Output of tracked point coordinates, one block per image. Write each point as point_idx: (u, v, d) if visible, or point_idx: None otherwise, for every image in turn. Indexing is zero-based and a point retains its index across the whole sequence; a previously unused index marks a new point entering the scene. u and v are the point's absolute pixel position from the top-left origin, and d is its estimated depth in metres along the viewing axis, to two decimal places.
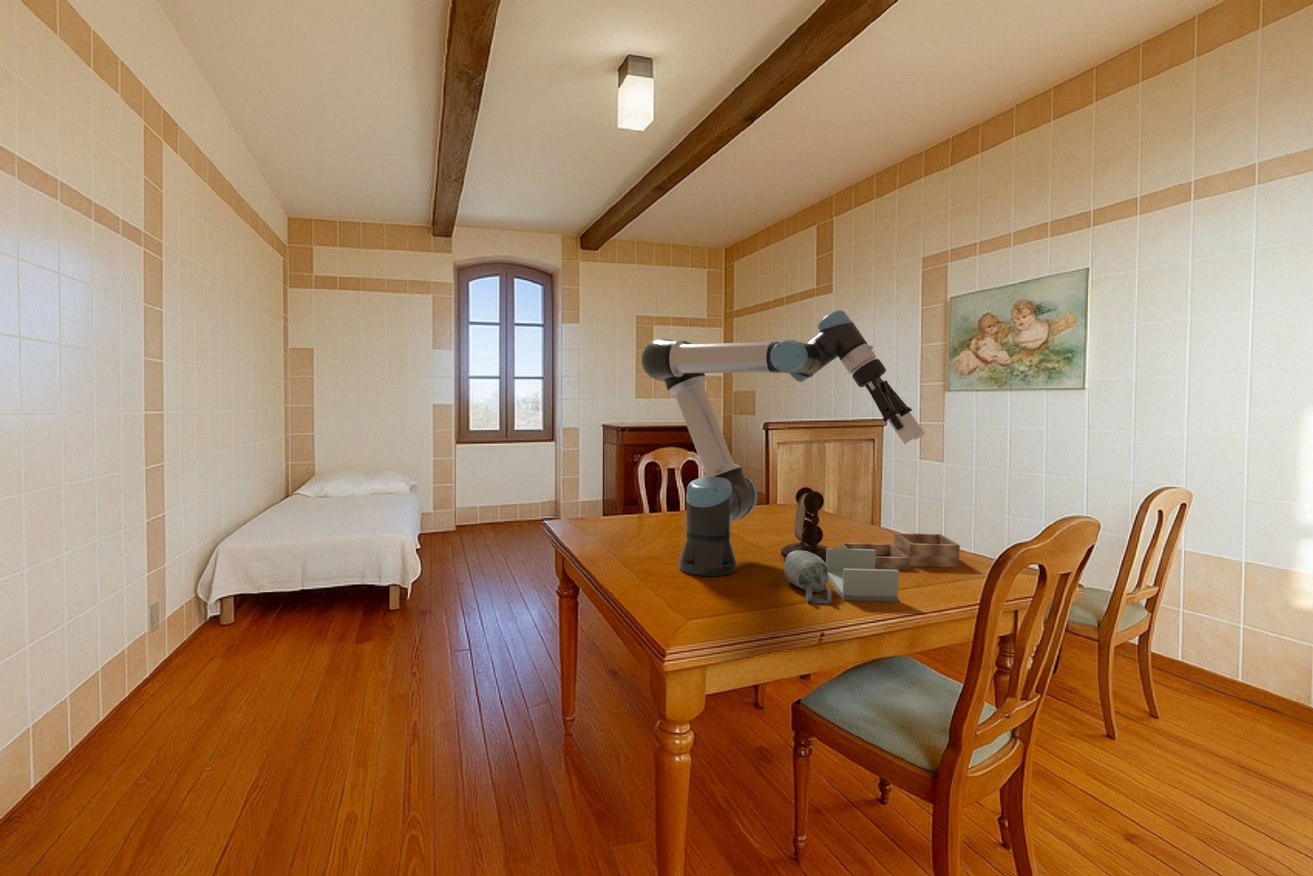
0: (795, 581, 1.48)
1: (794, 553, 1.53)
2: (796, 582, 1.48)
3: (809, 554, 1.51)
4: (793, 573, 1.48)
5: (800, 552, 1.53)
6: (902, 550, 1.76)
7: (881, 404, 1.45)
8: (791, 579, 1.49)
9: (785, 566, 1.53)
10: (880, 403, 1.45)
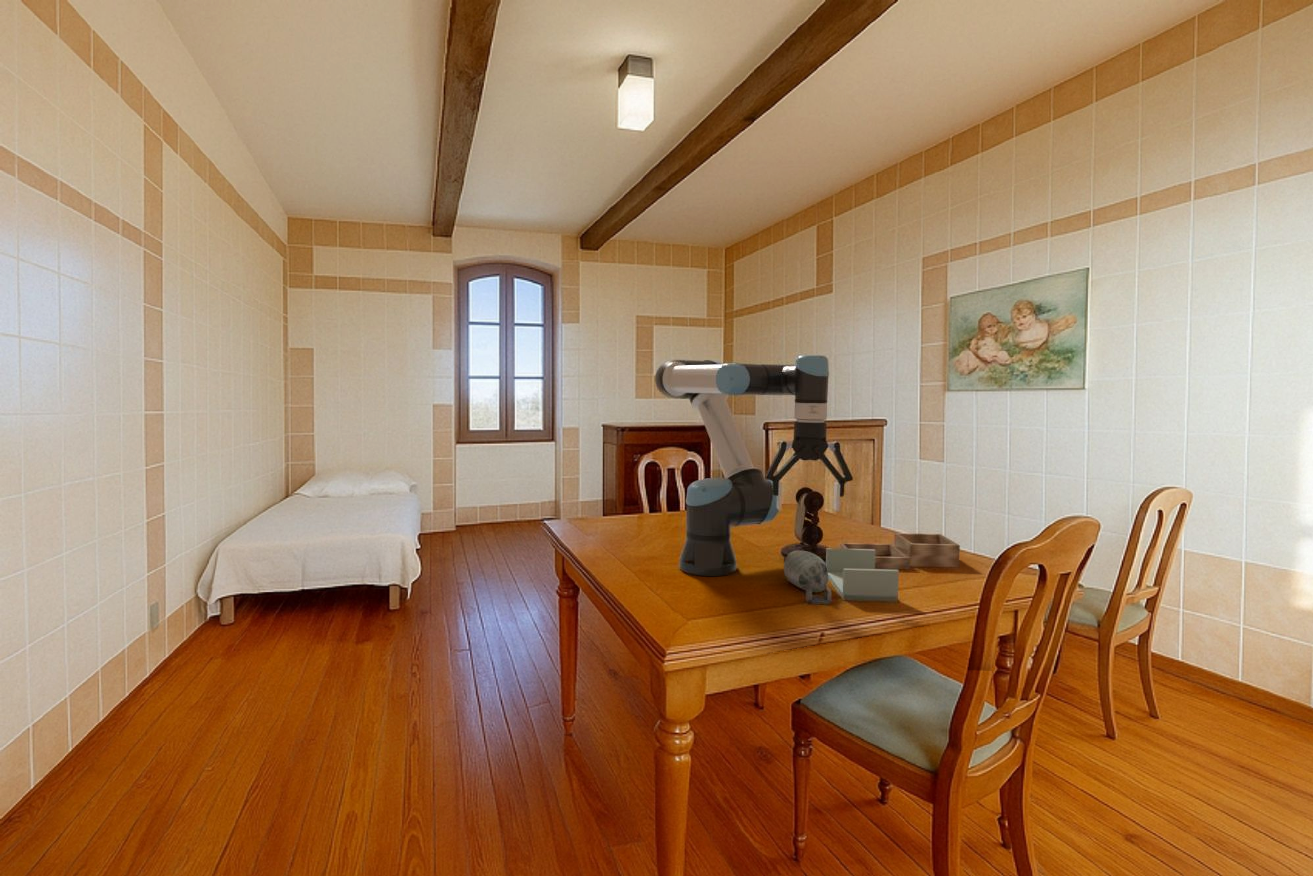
0: (795, 581, 1.48)
1: (794, 553, 1.53)
2: (796, 582, 1.48)
3: (809, 554, 1.51)
4: (793, 573, 1.48)
5: (800, 552, 1.53)
6: (902, 550, 1.76)
7: (770, 466, 1.50)
8: (791, 579, 1.49)
9: (785, 566, 1.53)
10: (771, 465, 1.50)
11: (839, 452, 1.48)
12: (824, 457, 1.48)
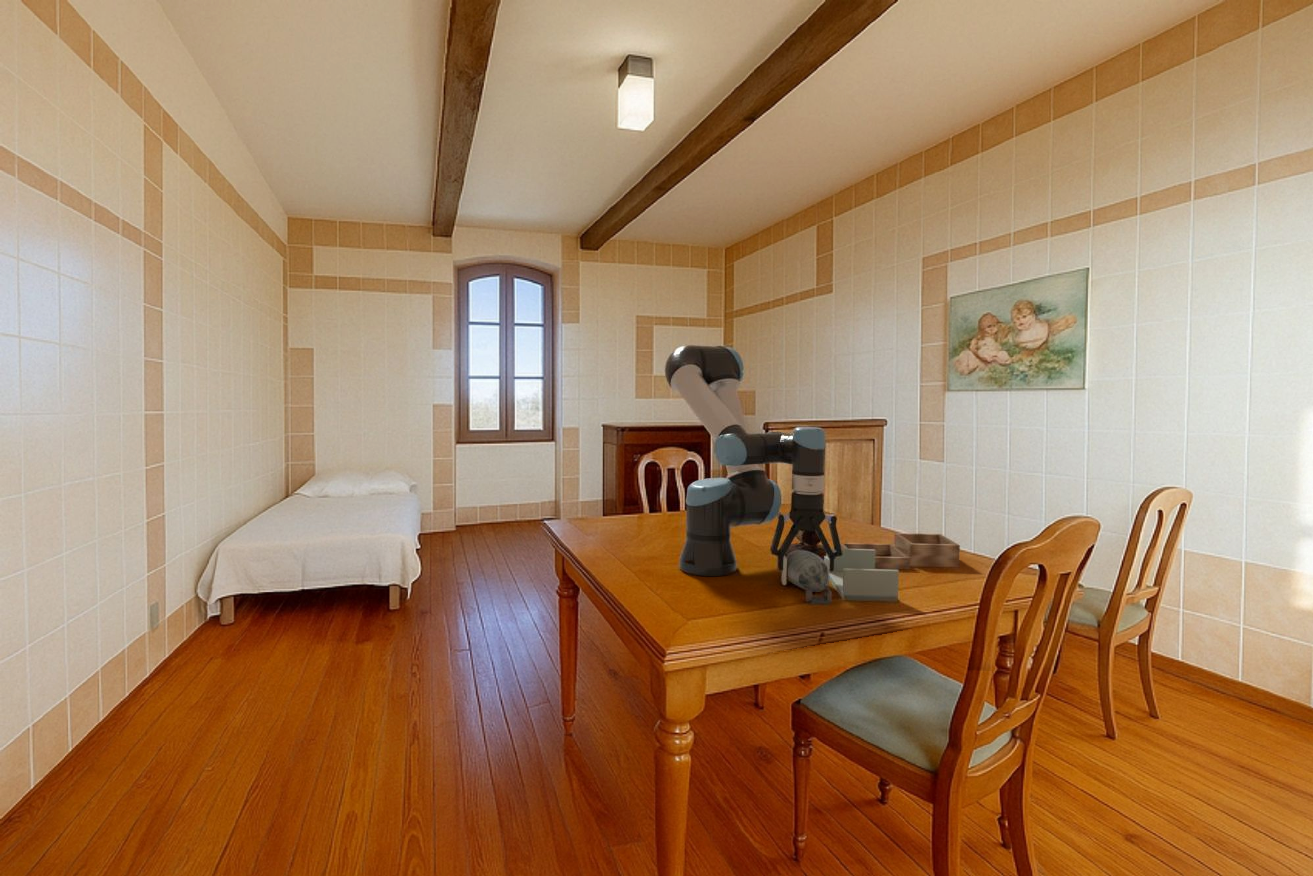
0: (795, 581, 1.48)
1: (794, 553, 1.53)
2: (796, 582, 1.48)
3: (809, 554, 1.51)
4: (793, 572, 1.48)
5: (800, 552, 1.53)
6: (902, 550, 1.76)
7: (773, 540, 1.52)
8: (791, 579, 1.49)
9: None
10: (773, 539, 1.52)
11: (834, 526, 1.49)
12: (819, 529, 1.49)
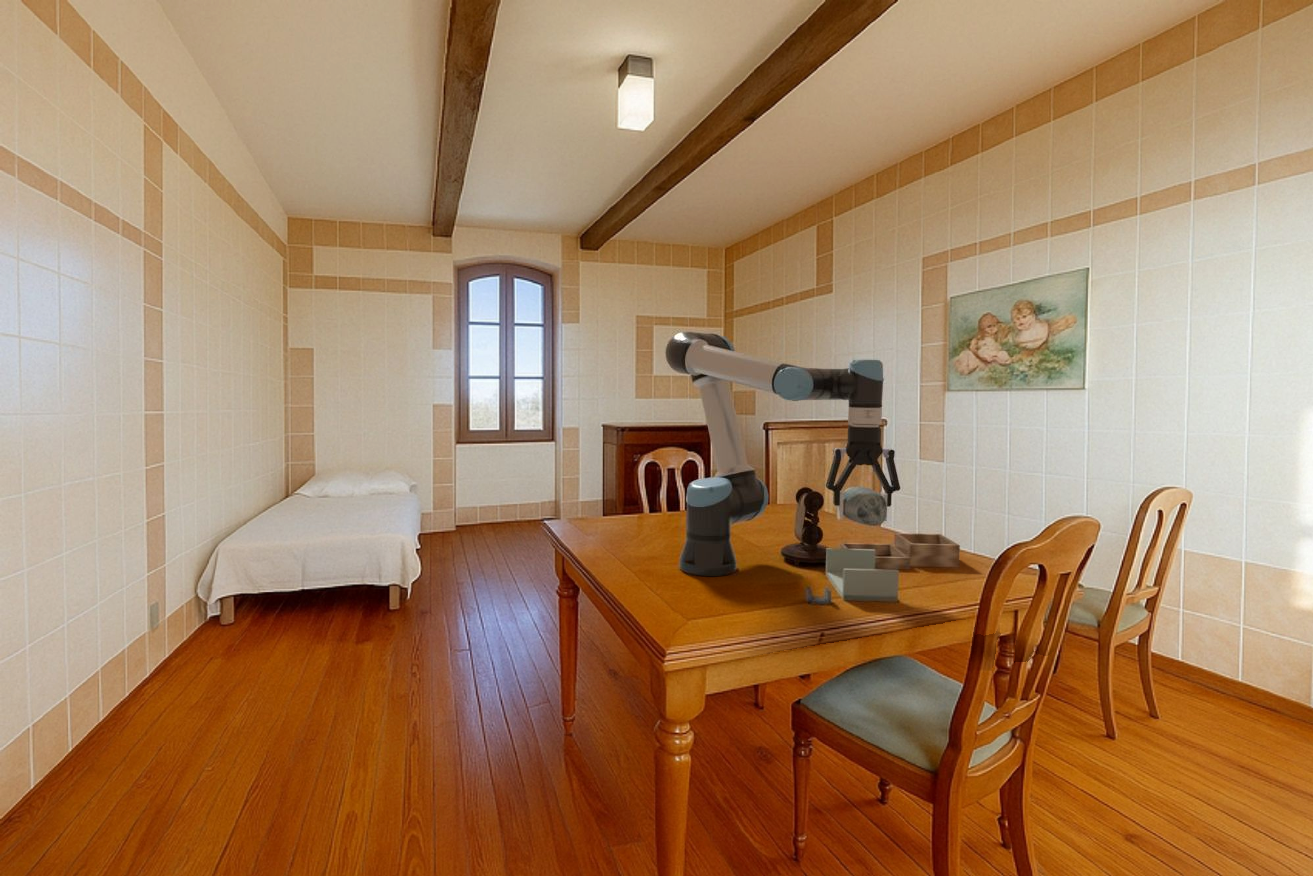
0: (853, 515, 1.46)
1: (850, 489, 1.51)
2: (854, 516, 1.46)
3: (866, 488, 1.48)
4: (851, 506, 1.46)
5: (857, 487, 1.50)
6: (902, 550, 1.76)
7: (829, 476, 1.50)
8: (849, 513, 1.47)
9: None
10: (829, 474, 1.50)
11: (892, 460, 1.47)
12: (877, 463, 1.47)
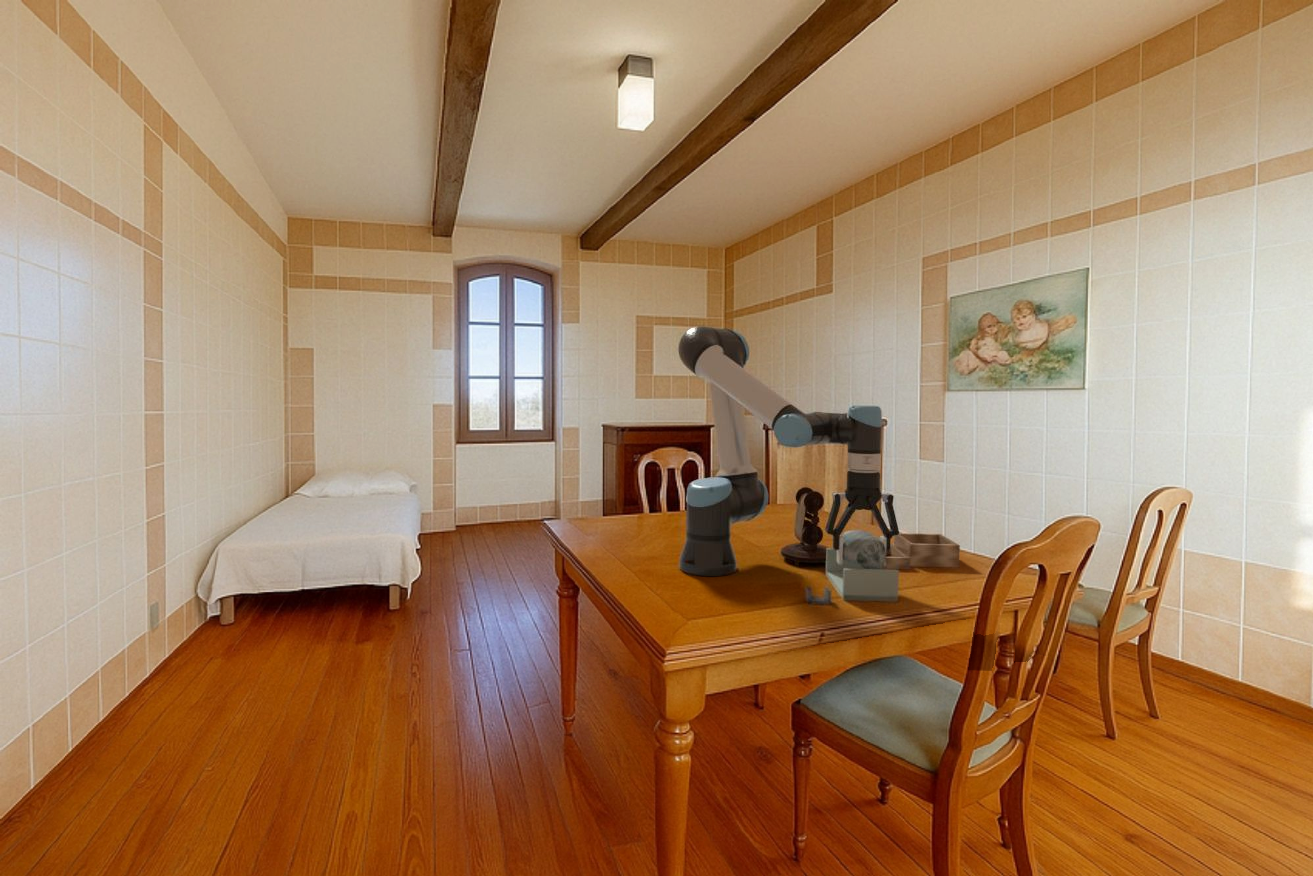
0: (853, 560, 1.47)
1: (850, 532, 1.52)
2: (854, 561, 1.46)
3: (866, 533, 1.49)
4: (851, 551, 1.47)
5: (856, 531, 1.51)
6: (902, 550, 1.76)
7: (828, 520, 1.51)
8: (848, 558, 1.48)
9: None
10: (829, 518, 1.51)
11: (891, 505, 1.48)
12: (876, 508, 1.48)
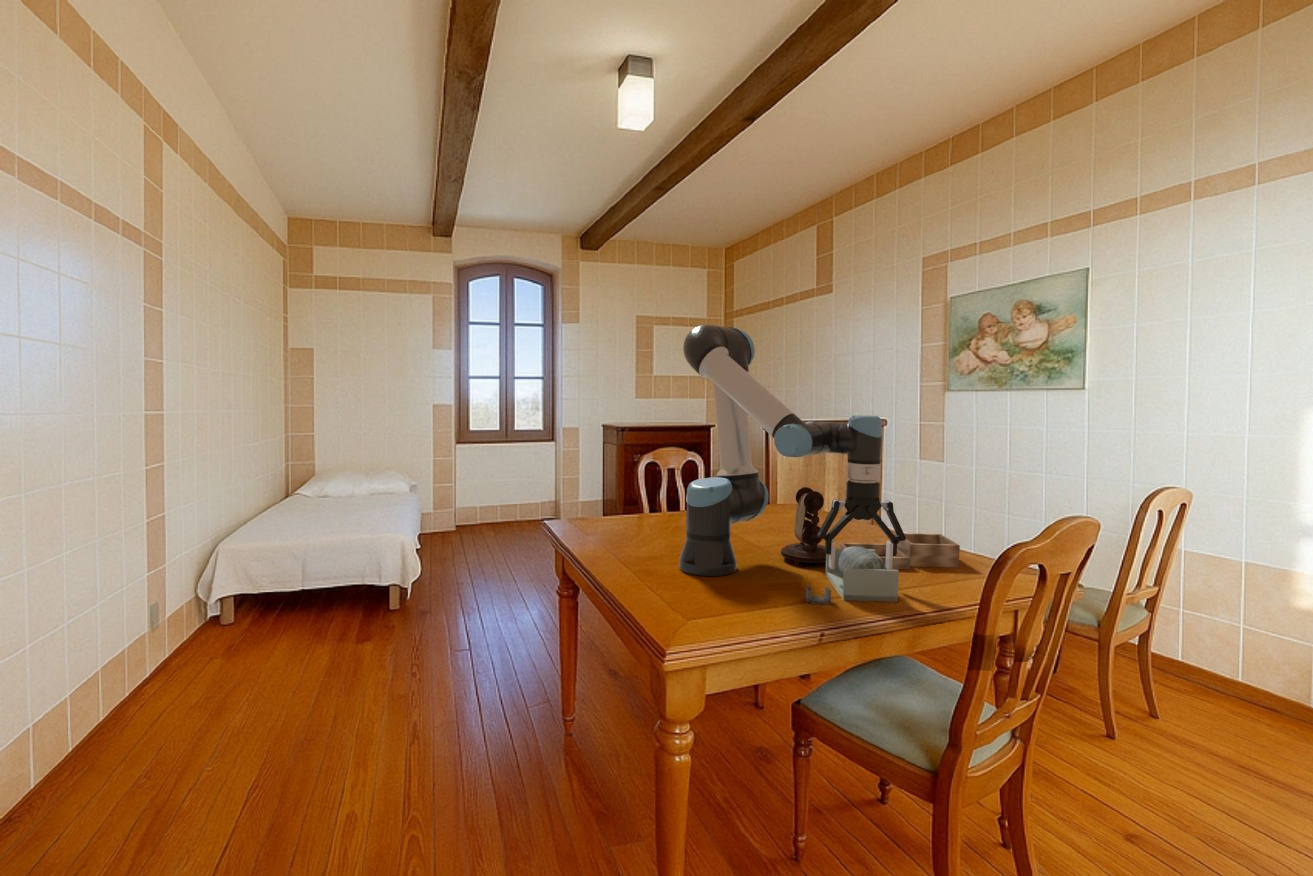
0: None
1: (849, 549, 1.53)
2: None
3: (865, 550, 1.50)
4: (850, 568, 1.48)
5: (856, 548, 1.52)
6: (902, 550, 1.76)
7: (823, 525, 1.51)
8: None
9: (840, 562, 1.52)
10: (824, 523, 1.51)
11: (892, 512, 1.48)
12: (877, 517, 1.48)
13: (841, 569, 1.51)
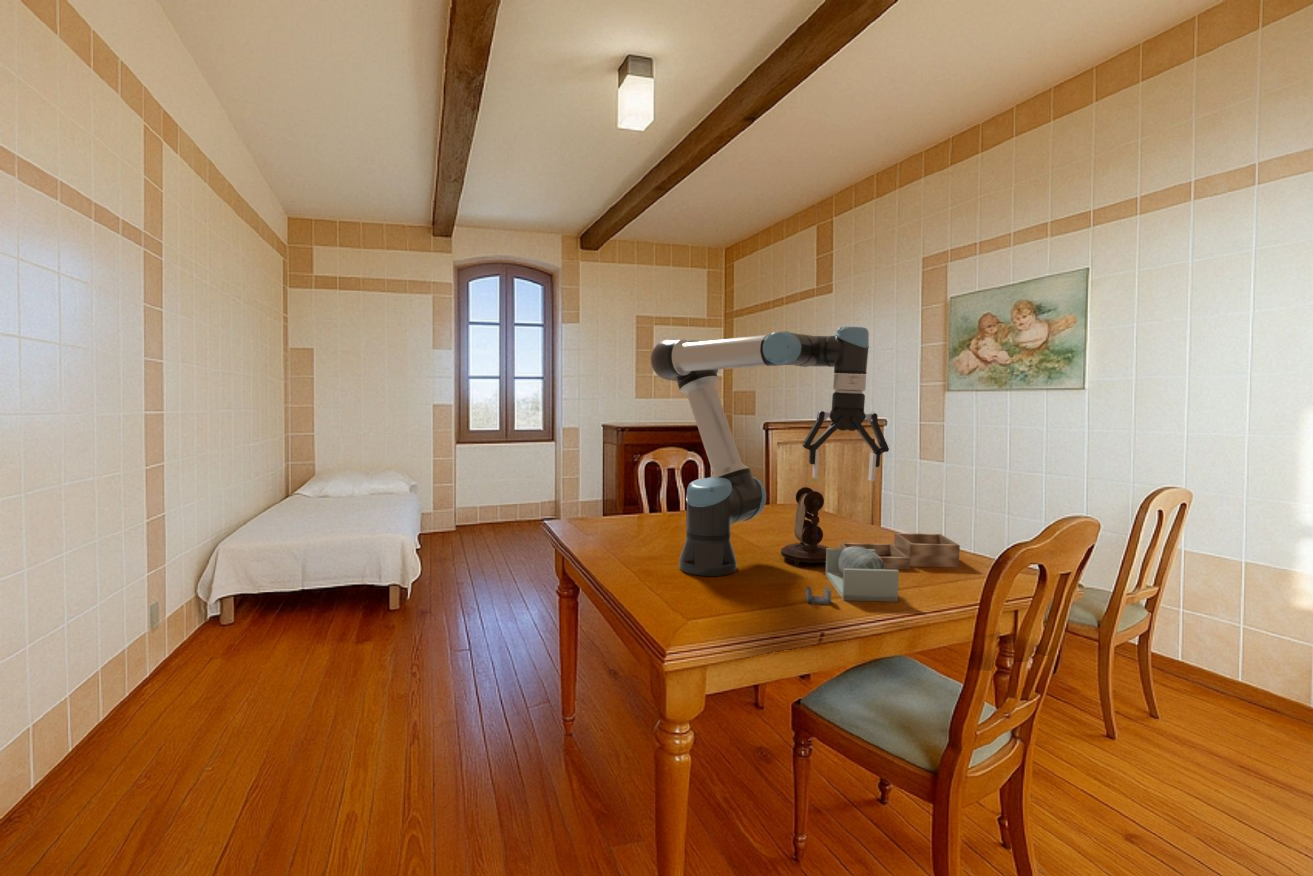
0: None
1: (849, 549, 1.53)
2: None
3: (865, 550, 1.50)
4: (850, 568, 1.48)
5: (856, 548, 1.52)
6: (902, 550, 1.76)
7: (808, 435, 1.54)
8: None
9: (840, 562, 1.52)
10: (808, 434, 1.54)
11: (876, 423, 1.51)
12: (861, 427, 1.51)
13: (841, 569, 1.51)
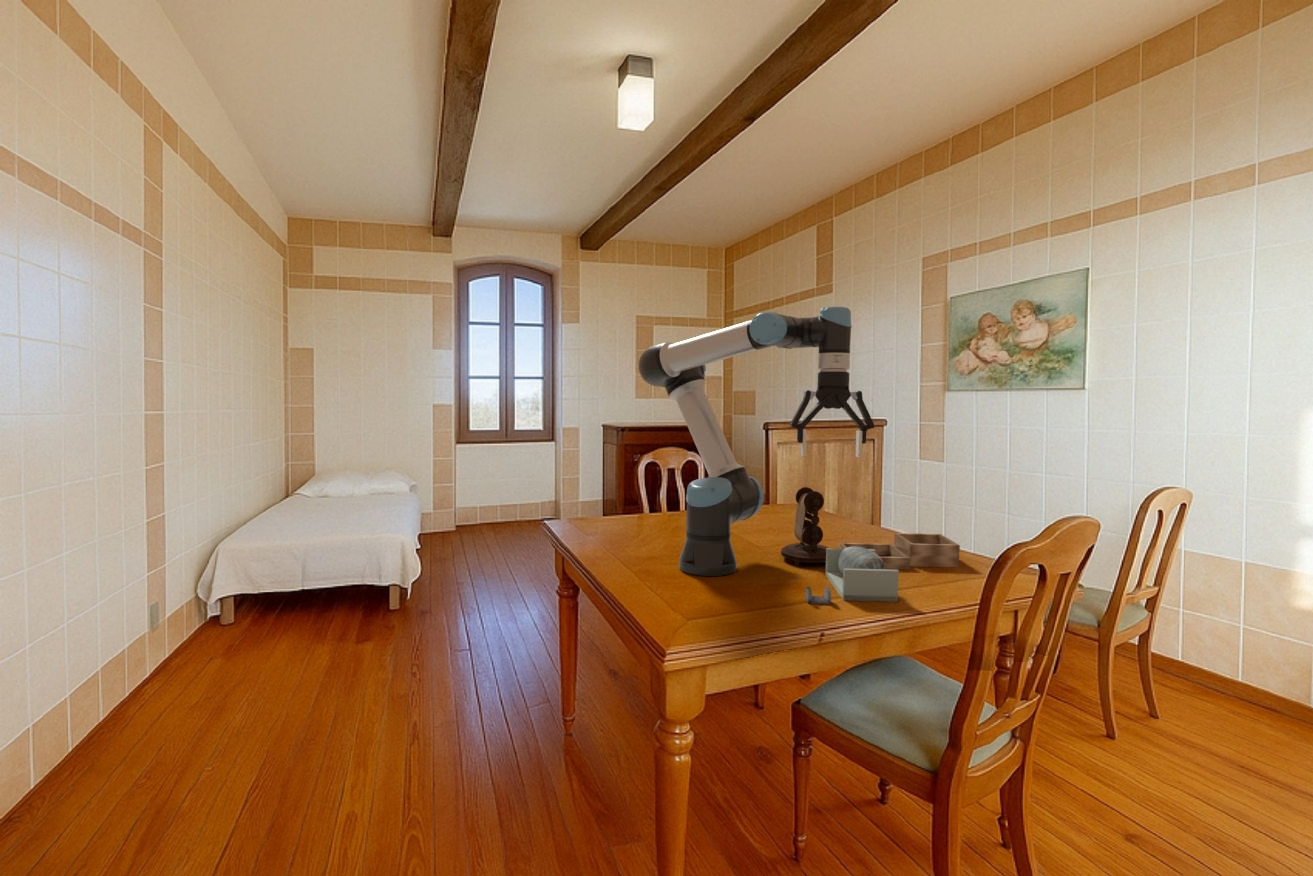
0: None
1: (849, 549, 1.53)
2: None
3: (865, 550, 1.50)
4: (850, 568, 1.48)
5: (856, 548, 1.52)
6: (902, 550, 1.76)
7: (795, 414, 1.57)
8: None
9: (840, 562, 1.52)
10: (796, 413, 1.57)
11: (861, 400, 1.54)
12: (847, 405, 1.54)
13: (841, 569, 1.51)
